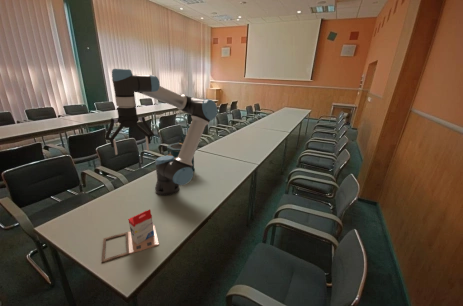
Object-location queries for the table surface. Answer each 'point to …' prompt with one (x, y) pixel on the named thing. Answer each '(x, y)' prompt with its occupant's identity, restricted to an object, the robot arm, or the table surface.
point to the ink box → (141, 226)
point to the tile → (142, 243)
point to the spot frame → (116, 255)
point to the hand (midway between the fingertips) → (132, 151)
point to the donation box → (178, 149)
